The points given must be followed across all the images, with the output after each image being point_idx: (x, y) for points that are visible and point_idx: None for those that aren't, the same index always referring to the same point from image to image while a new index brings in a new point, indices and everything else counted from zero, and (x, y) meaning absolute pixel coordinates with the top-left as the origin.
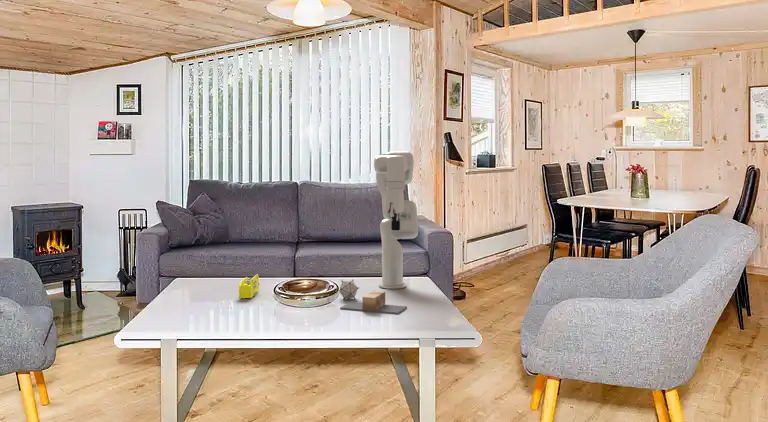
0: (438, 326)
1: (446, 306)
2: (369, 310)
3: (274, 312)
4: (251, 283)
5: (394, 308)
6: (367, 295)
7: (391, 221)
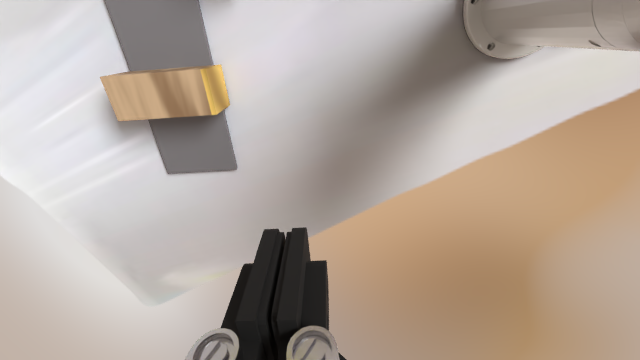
0: (145, 263)
1: None
2: None
3: None
4: None
5: (198, 149)
6: (128, 83)
7: (240, 309)
